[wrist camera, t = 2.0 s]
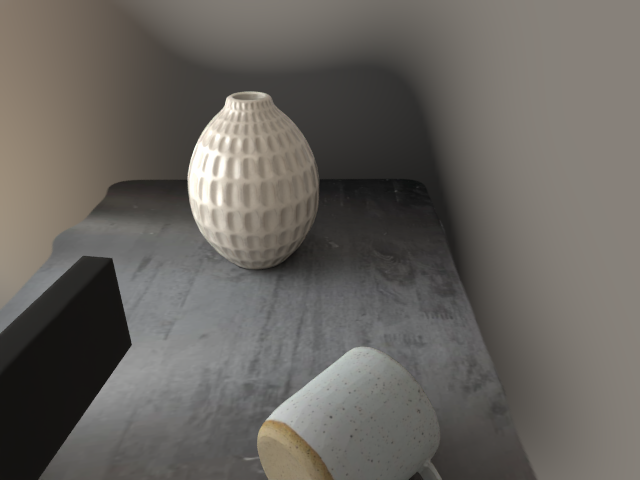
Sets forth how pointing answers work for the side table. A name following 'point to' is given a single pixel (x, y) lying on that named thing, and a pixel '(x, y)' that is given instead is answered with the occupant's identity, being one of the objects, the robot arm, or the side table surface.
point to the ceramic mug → (353, 425)
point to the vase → (253, 183)
